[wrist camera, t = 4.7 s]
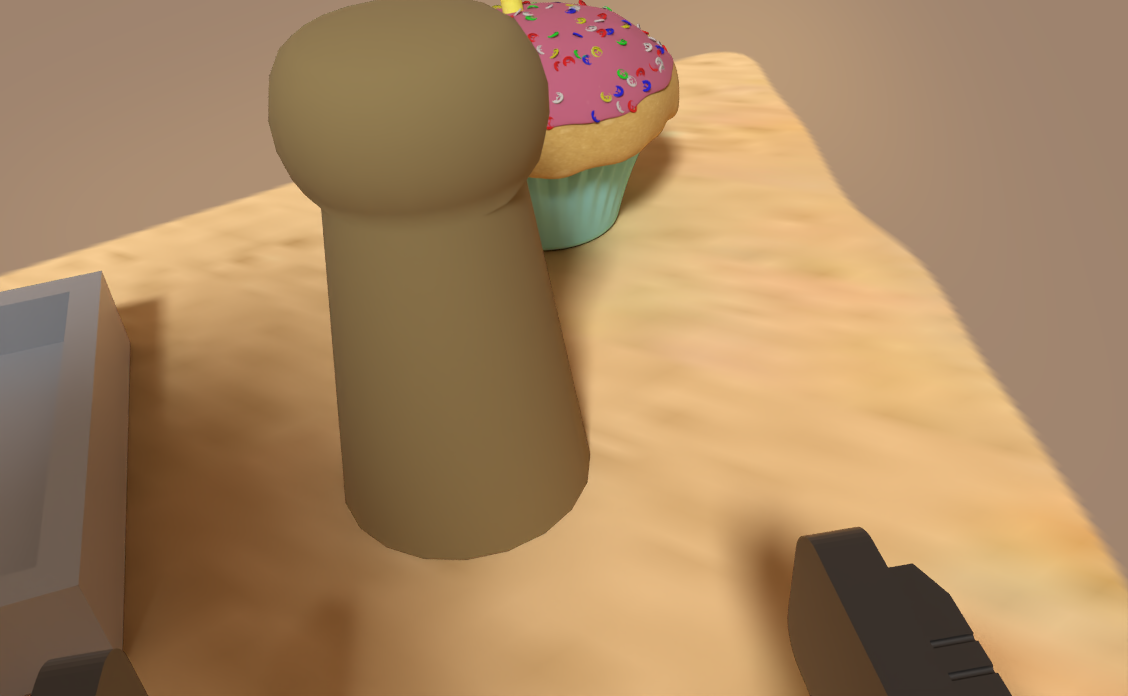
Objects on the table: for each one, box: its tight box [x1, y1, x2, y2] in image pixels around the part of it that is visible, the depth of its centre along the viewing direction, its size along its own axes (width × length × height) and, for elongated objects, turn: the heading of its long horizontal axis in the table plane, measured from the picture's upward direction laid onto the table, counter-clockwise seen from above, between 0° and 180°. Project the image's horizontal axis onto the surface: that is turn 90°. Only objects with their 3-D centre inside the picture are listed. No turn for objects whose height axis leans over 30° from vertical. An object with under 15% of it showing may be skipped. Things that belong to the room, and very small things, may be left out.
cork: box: [268, 0, 590, 560], centre depth 20 cm, size 6×6×11 cm
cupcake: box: [492, 0, 679, 250], centre depth 30 cm, size 9×8×12 cm
